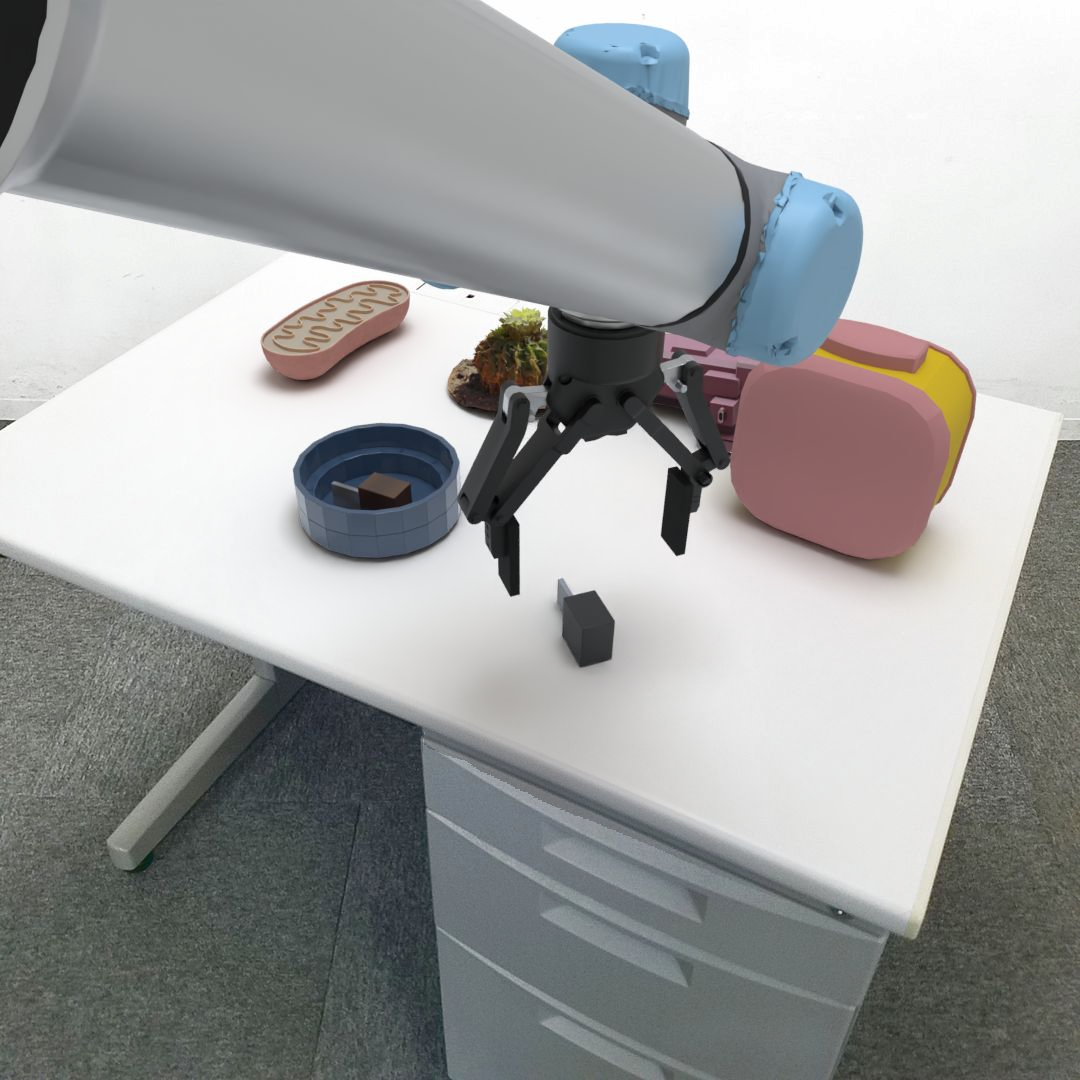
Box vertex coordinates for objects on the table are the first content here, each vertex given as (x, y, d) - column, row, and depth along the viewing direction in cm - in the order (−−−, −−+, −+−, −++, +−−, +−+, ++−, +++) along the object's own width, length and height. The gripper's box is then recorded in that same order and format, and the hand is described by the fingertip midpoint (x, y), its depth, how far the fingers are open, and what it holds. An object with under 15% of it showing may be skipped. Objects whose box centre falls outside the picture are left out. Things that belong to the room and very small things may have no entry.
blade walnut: (413, 519, 91) (411, 482, 88) (397, 535, 89) (394, 498, 86) (343, 496, 94) (339, 460, 91) (326, 511, 92) (321, 475, 89)
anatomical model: (311, 401, 109) (305, 362, 106) (245, 380, 113) (238, 341, 110) (426, 325, 125) (424, 289, 122) (365, 309, 129) (361, 273, 126)
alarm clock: (939, 525, 93) (1002, 341, 81) (904, 586, 85) (967, 394, 73) (761, 463, 101) (794, 287, 89) (715, 514, 93) (744, 331, 81)
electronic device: (607, 381, 118) (604, 303, 112) (828, 420, 105) (836, 334, 100) (564, 420, 110) (557, 338, 105) (795, 467, 98) (802, 376, 92)
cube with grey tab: (612, 659, 78) (615, 621, 75) (580, 667, 77) (582, 629, 74) (574, 597, 83) (576, 560, 81) (544, 604, 83) (545, 567, 80)
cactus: (574, 349, 120) (577, 275, 114) (611, 413, 108) (617, 333, 102) (437, 362, 117) (433, 286, 111) (460, 429, 105) (456, 348, 99)
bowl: (378, 585, 84) (372, 535, 81) (268, 518, 92) (258, 470, 88) (493, 507, 94) (492, 460, 90) (384, 452, 101) (380, 406, 98)
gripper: (431, 363, 54) (450, 635, 67) (811, 299, 61) (760, 557, 74) (398, 308, 59) (421, 570, 73) (750, 256, 67) (713, 503, 80)
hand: (592, 564), depth 73 cm, fingers open, 13 cm apart
